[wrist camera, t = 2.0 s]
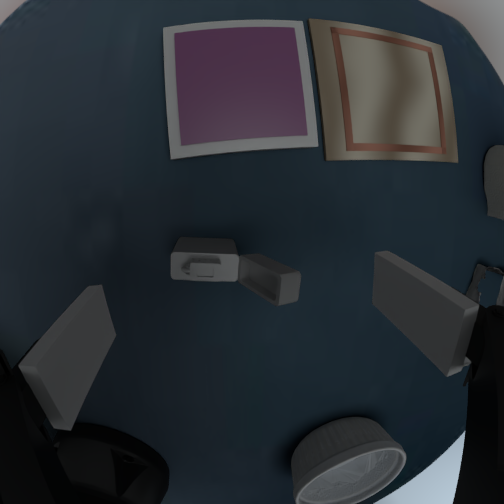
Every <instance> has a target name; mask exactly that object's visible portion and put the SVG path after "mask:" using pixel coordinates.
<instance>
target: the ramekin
mask: <svg viewBox="0 0 504 504" xmlns="http://www.w3.org/2000/svg"><path fill="white" fill-rule="evenodd" d="M405 462H406V454H405V452H404V450H403V448H402V447H401V445H400V444H398V443H397V442H395V441H394V440H393V439H392V438H391V437H390V436H389V434H388V433H387V432H386V431H385V430H384V429H383V428H382V427H381V426H380V425H379V424H378V423H377V422H375V421H373V420H371V419H368V418H363V417H347V418H342V419H338V420H335V421H332V422H329V423H327V424H325V425H322V426H321V427H319V428H317V429H315V430H314V431H312V432H311V433H310V434H308V435H307V436H306V437H305V438H304V439H303V440H302V441H301V442H300V443H299V445H298V446H297V448H296V449H295V451H294V453H293V456H292V459H291V469H292V477H293V484H294V490H293V496H294V499H295V502H296V504H355V503H358V502H360V501H362V500H364V499H366V498H368V497H370V496H372V495H374V494H375V493H377V492H378V491H380V490H381V489H383V488H384V487H385V486H387V485H388V484H389V483H390V482H391V481H393V480H394V479H395V477H396V476H397V475H398V474H399V473H400V471H401V470H402V468H403V467H404V465H405Z"/></svg>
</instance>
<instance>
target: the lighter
mask: <svg viewBox="0 0 504 504" xmlns="http://www.w3.org/2000/svg"><path fill="white" fill-rule="evenodd" d="M171 277H172V278H173V279H174V280H191V281H218V282H219V281H236V280H237V279H238V281H239V283H240V284H242V285H244V286H245V287H247V288H248V289H250V290H251V291H253V292H255V293H256V294H258V295H259V296H261V297H262V298H264V299H266V300H267V301H269V302H270V303H272V304H274V305H275V306H280V305H284V304H288V303H292V302H296V301H297V300H298V296H299V289H300V281H301V274H300V272H299V271H297V270H295V269H292V268H290V267H288V266H286V265H284V264H281V263H279V262H277V261H275V260H272V259H270V258H268V257H266V256H264V255H261V254H259V253H258V254H248V255H240V257H239V255H238V252H237V248H236V245H235V242H234V240H233V239H225V238H198V237H180V238H179V239H178V241H177V243H176V245H175V247H174V249H173V251H172V253H171Z"/></svg>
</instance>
